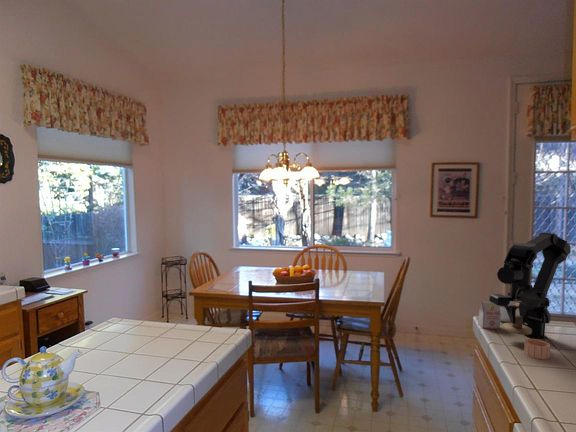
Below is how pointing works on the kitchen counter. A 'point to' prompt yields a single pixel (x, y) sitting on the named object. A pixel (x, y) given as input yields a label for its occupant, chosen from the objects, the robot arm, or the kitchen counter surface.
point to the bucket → (537, 348)
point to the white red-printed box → (489, 315)
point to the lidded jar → (505, 315)
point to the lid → (517, 327)
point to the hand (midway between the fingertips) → (517, 323)
